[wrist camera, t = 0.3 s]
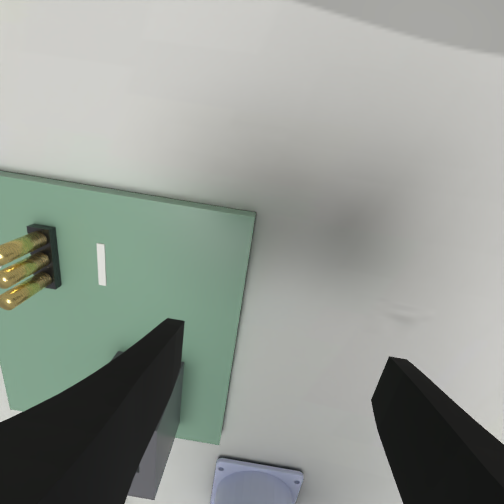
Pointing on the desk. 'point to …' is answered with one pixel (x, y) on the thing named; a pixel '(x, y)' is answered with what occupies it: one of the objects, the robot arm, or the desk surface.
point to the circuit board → (125, 290)
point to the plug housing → (158, 445)
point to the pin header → (29, 265)
